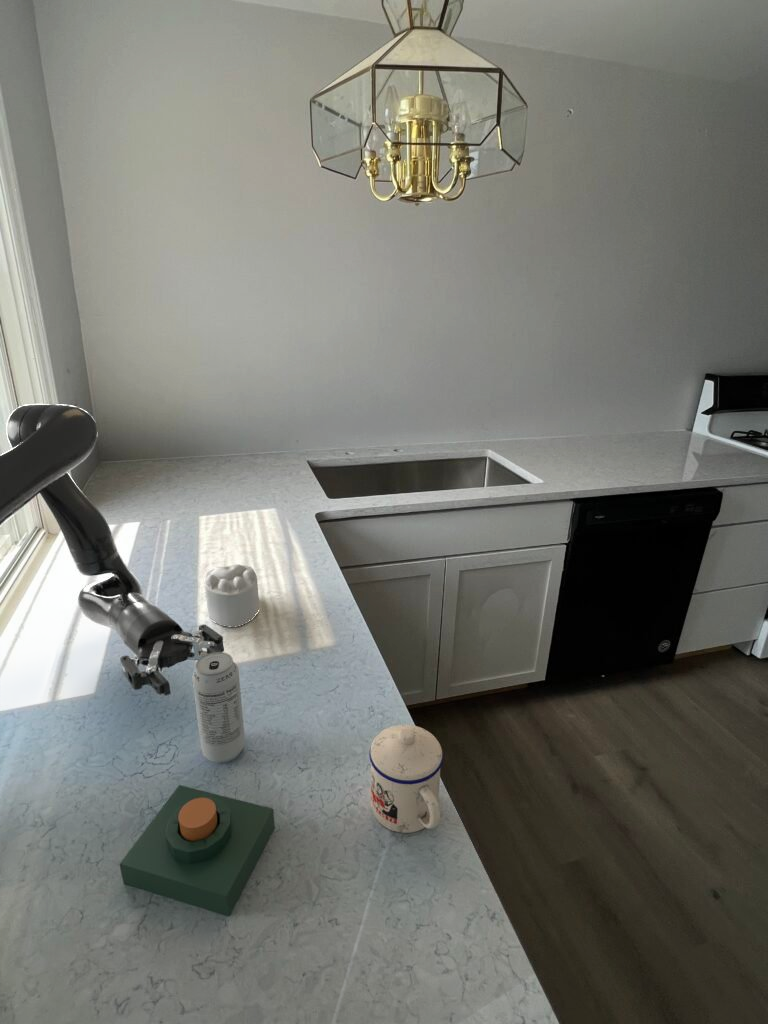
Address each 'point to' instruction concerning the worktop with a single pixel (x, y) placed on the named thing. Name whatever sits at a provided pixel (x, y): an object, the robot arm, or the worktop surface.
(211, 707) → the energy drink can
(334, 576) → the worktop surface
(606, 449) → the worktop surface
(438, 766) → the teacup with lid
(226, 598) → the lumpy-topped squat cylinder
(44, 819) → the worktop surface
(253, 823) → the button base
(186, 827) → the orange round push button
